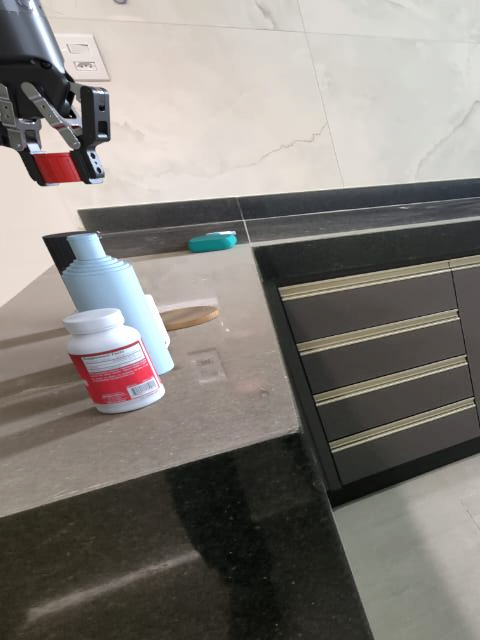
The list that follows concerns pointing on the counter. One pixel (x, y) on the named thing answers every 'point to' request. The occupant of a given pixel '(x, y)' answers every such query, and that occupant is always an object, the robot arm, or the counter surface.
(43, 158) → the cap
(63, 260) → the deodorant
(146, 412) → the counter surface
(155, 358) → the bottle
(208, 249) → the teal soap bar
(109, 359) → the pill bottle
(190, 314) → the coaster
